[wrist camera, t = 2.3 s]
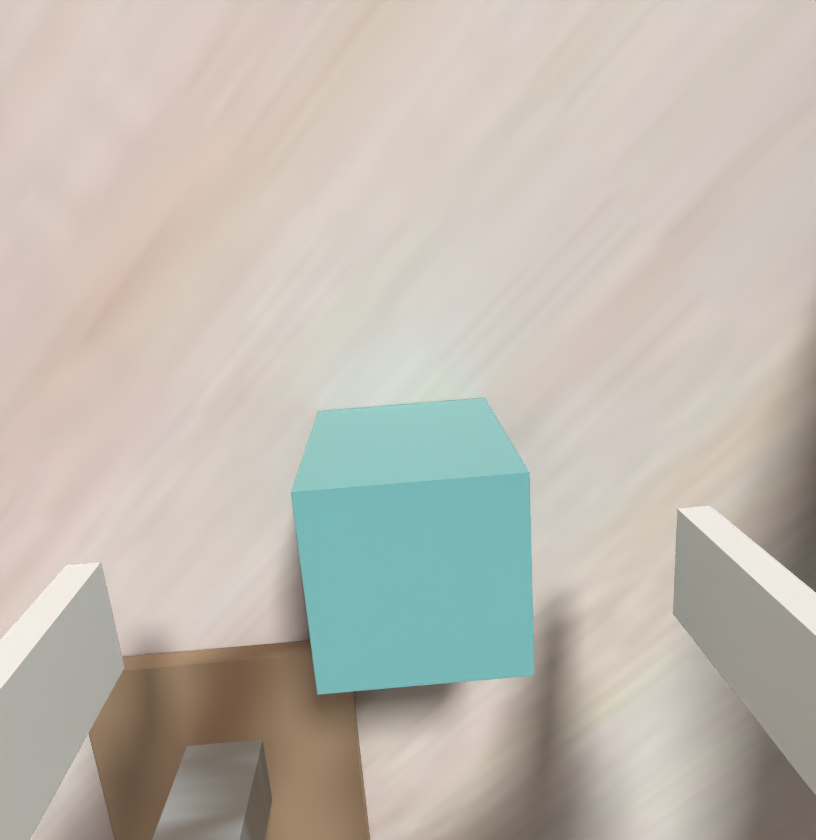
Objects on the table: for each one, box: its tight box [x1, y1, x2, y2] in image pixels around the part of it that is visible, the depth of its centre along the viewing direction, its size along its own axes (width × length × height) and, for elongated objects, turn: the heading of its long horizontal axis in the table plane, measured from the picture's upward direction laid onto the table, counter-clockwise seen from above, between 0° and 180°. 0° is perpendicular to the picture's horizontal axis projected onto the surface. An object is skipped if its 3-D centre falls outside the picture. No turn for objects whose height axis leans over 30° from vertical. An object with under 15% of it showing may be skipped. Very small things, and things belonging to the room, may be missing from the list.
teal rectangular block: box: [291, 398, 534, 695], centre depth 19 cm, size 5×5×7 cm
